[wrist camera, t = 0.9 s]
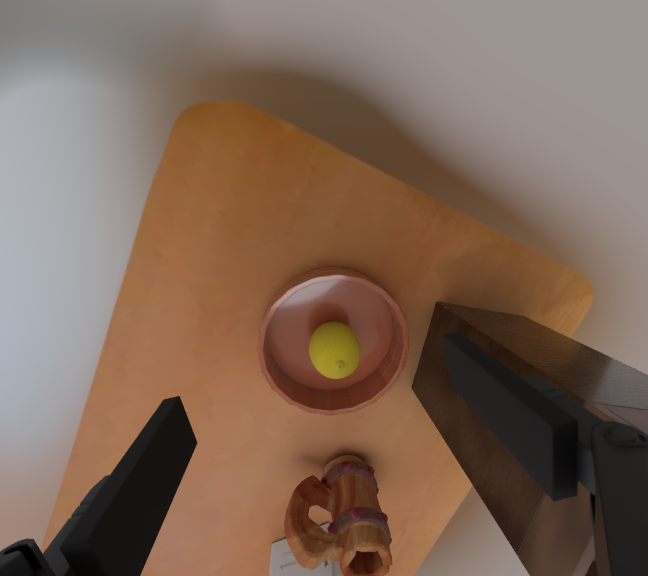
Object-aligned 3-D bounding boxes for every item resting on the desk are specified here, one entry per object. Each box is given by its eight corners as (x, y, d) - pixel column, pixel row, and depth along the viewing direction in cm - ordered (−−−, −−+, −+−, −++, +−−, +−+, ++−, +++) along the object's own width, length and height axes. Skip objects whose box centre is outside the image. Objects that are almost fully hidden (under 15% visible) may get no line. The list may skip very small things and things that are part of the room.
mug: (382, 455, 42) (417, 556, 30) (363, 494, 44) (389, 605, 31) (298, 432, 40) (297, 531, 28) (280, 474, 42) (273, 585, 29)
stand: (436, 301, 37) (586, 401, 18) (525, 316, 39) (751, 423, 19) (411, 388, 40) (517, 556, 21) (494, 399, 41) (667, 565, 22)
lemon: (329, 363, 38) (337, 403, 30) (298, 334, 36) (298, 367, 29) (363, 334, 37) (380, 366, 29) (332, 302, 36) (341, 328, 28)
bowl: (273, 255, 34) (270, 262, 30) (410, 279, 36) (425, 289, 32) (254, 383, 38) (248, 405, 34) (379, 398, 40) (389, 422, 36)
